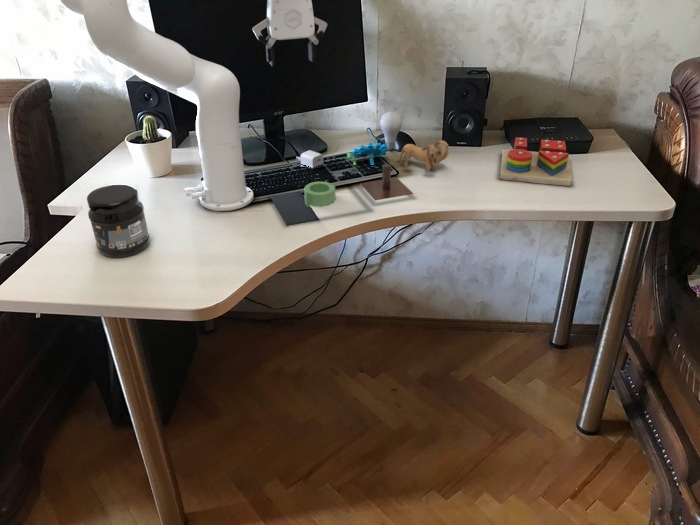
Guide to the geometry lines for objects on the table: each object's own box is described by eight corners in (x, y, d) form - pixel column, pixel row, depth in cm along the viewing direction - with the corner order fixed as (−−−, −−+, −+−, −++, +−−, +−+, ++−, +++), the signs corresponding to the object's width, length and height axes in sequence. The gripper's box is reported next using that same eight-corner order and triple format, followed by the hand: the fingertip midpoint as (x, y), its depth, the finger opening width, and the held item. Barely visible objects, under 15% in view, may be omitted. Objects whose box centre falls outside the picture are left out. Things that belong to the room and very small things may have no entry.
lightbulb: (376, 147, 170) (377, 109, 164) (396, 145, 171) (397, 107, 166) (383, 155, 165) (384, 116, 159) (404, 152, 166) (406, 114, 161)
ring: (310, 211, 136) (309, 196, 134) (301, 198, 141) (300, 184, 139) (339, 206, 138) (339, 191, 136) (329, 194, 144) (329, 179, 141)
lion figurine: (449, 171, 156) (452, 138, 151) (443, 179, 151) (446, 145, 147) (396, 162, 161) (397, 130, 156) (389, 170, 156) (390, 137, 152)
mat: (286, 225, 131) (286, 224, 131) (270, 197, 143) (270, 195, 143) (370, 210, 137) (370, 209, 137) (348, 184, 149) (348, 183, 149)
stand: (374, 204, 139) (375, 176, 136) (359, 187, 147) (359, 160, 144) (413, 198, 142) (415, 170, 139) (396, 181, 150) (397, 155, 146)
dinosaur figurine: (387, 152, 162) (388, 137, 152) (391, 172, 161) (392, 158, 151) (347, 159, 162) (345, 144, 152) (350, 179, 161) (349, 166, 151)
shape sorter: (567, 160, 162) (572, 138, 158) (571, 186, 147) (576, 164, 144) (502, 154, 165) (505, 133, 162) (499, 179, 151) (502, 157, 148)
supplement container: (105, 234, 128) (92, 183, 122) (155, 232, 129) (145, 181, 122) (91, 260, 119) (76, 206, 113) (144, 258, 120) (133, 205, 113)
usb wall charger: (312, 172, 155) (312, 158, 153) (294, 165, 159) (293, 151, 157) (323, 167, 158) (322, 153, 156) (304, 161, 162) (303, 147, 160)
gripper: (252, -13, 124) (259, 70, 134) (331, -17, 129) (332, 63, 139) (245, -18, 130) (252, 62, 139) (320, -22, 135) (322, 56, 144)
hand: (292, 63), depth 139 cm, fingers open, 9 cm apart
